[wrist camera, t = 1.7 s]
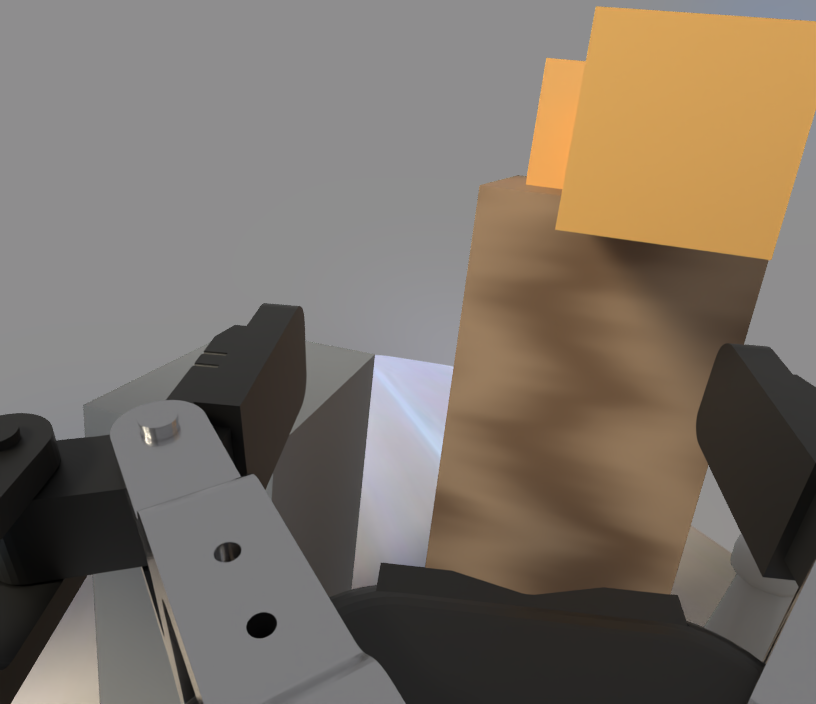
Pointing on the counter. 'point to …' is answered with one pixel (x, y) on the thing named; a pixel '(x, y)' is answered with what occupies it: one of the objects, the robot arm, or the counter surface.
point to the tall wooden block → (578, 400)
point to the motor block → (288, 490)
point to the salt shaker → (751, 604)
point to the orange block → (678, 128)
